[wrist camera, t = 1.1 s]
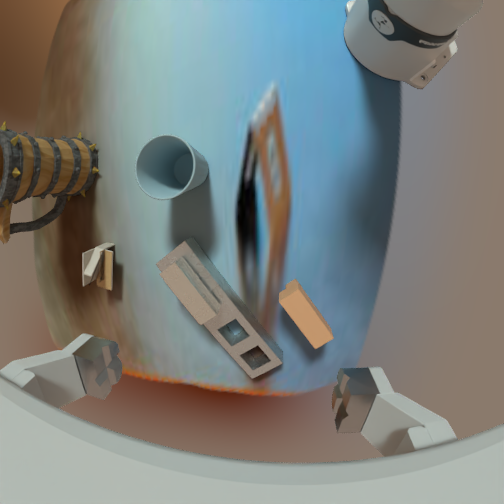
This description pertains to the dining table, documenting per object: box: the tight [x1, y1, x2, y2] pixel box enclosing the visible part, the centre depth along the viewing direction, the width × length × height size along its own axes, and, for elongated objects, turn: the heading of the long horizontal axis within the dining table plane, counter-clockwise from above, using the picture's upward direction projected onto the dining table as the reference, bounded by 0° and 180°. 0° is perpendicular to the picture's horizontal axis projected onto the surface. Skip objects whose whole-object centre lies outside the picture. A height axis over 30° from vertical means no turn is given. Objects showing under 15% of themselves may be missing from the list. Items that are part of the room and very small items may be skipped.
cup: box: [135, 134, 208, 200], centre depth 35 cm, size 8×8×10 cm
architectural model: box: [82, 243, 115, 290], centre depth 42 cm, size 3×7×7 cm, turn 169°
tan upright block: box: [279, 279, 333, 349], centre depth 40 cm, size 3×9×7 cm, turn 37°
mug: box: [0, 122, 99, 243], centre depth 33 cm, size 13×17×20 cm
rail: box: [156, 237, 283, 379], centre depth 42 cm, size 6×24×7 cm, turn 37°
